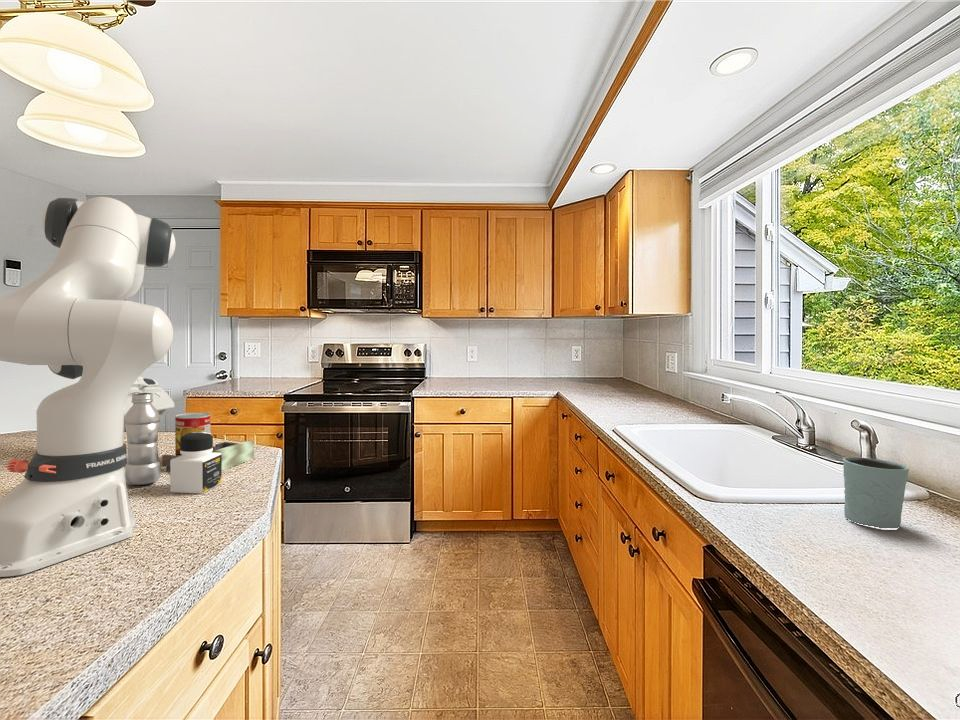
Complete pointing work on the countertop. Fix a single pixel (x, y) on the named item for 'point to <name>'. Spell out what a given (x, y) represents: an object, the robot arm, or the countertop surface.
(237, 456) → the trap lane
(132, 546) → the countertop surface
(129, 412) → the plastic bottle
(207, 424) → the canned food
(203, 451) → the medicine bottle
